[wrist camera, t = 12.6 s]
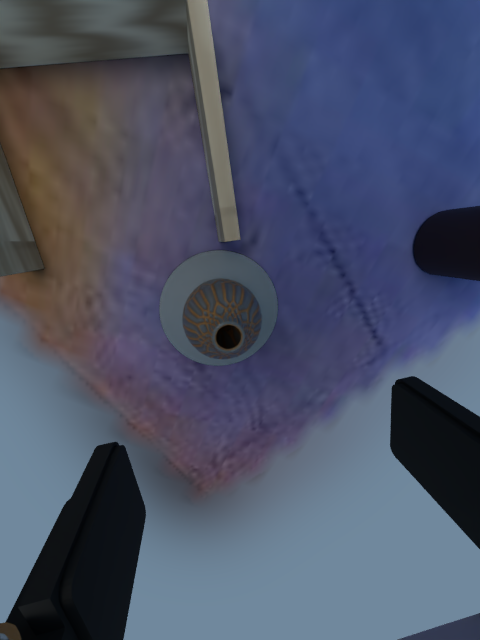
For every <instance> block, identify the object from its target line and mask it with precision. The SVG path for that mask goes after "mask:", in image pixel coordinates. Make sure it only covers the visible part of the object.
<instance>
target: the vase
mask: <svg viewBox="0 0 480 640" xmlns="http://www.w3.org/2000/svg"><path fill="white" fill-rule="evenodd" d="M182 323H183V328H184V332H185V334H186V337H187V338H188V340H189V342H190V343H191V344H192V345H193V347H194V348H195V349H197V350H198V351H199V352H200V353H202V354H204V355H206V356H208V357H211V358H214V359H231V358H235V357H238V356H240V355H242V354H243V353H245V352H246V351H247V350H249V349H250V348H251V347H252V345H253V344H254V343H255V341H256V340H257V338H258V336H259V333H260V330H261V324H262V314H261V309H260V306H259V303H258V301H257V299H256V298H255V296H254V295H253V293H252V292H251V291H250V290H249V289H248V288H247V287H245V286H244V285H242V284H241V283H239V282H236V281H234V280H230V279H224V278H219V279H212V280H209V281H206V282H204V283H202V284H201V285H199V286H198V287H196V288H195V289H194V290H193V291H192V293H191V294H190V295H189V297H188V299H187V300H186V303H185V305H184V309H183V315H182Z"/></svg>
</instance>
